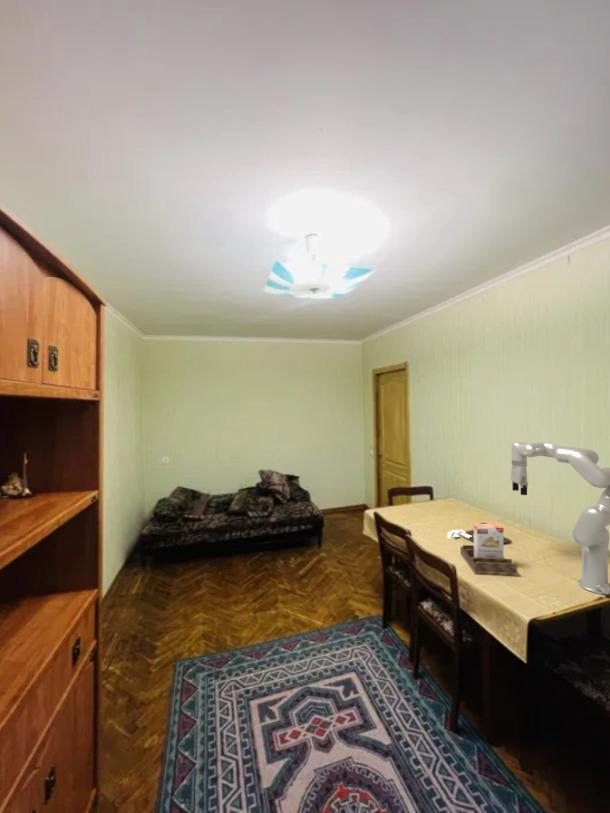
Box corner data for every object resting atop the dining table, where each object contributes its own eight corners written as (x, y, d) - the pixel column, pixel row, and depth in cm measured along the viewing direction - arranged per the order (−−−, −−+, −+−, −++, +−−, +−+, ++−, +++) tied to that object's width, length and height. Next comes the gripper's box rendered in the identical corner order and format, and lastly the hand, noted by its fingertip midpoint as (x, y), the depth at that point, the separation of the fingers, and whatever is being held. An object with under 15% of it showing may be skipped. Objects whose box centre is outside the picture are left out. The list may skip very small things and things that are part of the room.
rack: (499, 555, 199) (499, 545, 199) (519, 576, 175) (519, 565, 175) (460, 554, 202) (460, 544, 202) (474, 574, 178) (474, 563, 178)
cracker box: (477, 564, 186) (477, 526, 186) (473, 559, 192) (472, 523, 192) (504, 565, 184) (503, 527, 184) (499, 560, 190) (498, 523, 190)
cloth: (463, 529, 242) (463, 526, 242) (483, 542, 220) (483, 538, 220) (437, 531, 239) (437, 528, 239) (454, 544, 217) (454, 540, 217)
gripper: (505, 460, 205) (506, 488, 205) (519, 466, 188) (520, 496, 188) (518, 461, 204) (519, 489, 204) (534, 466, 187) (534, 496, 187)
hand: (519, 492), depth 196 cm, fingers open, 9 cm apart
